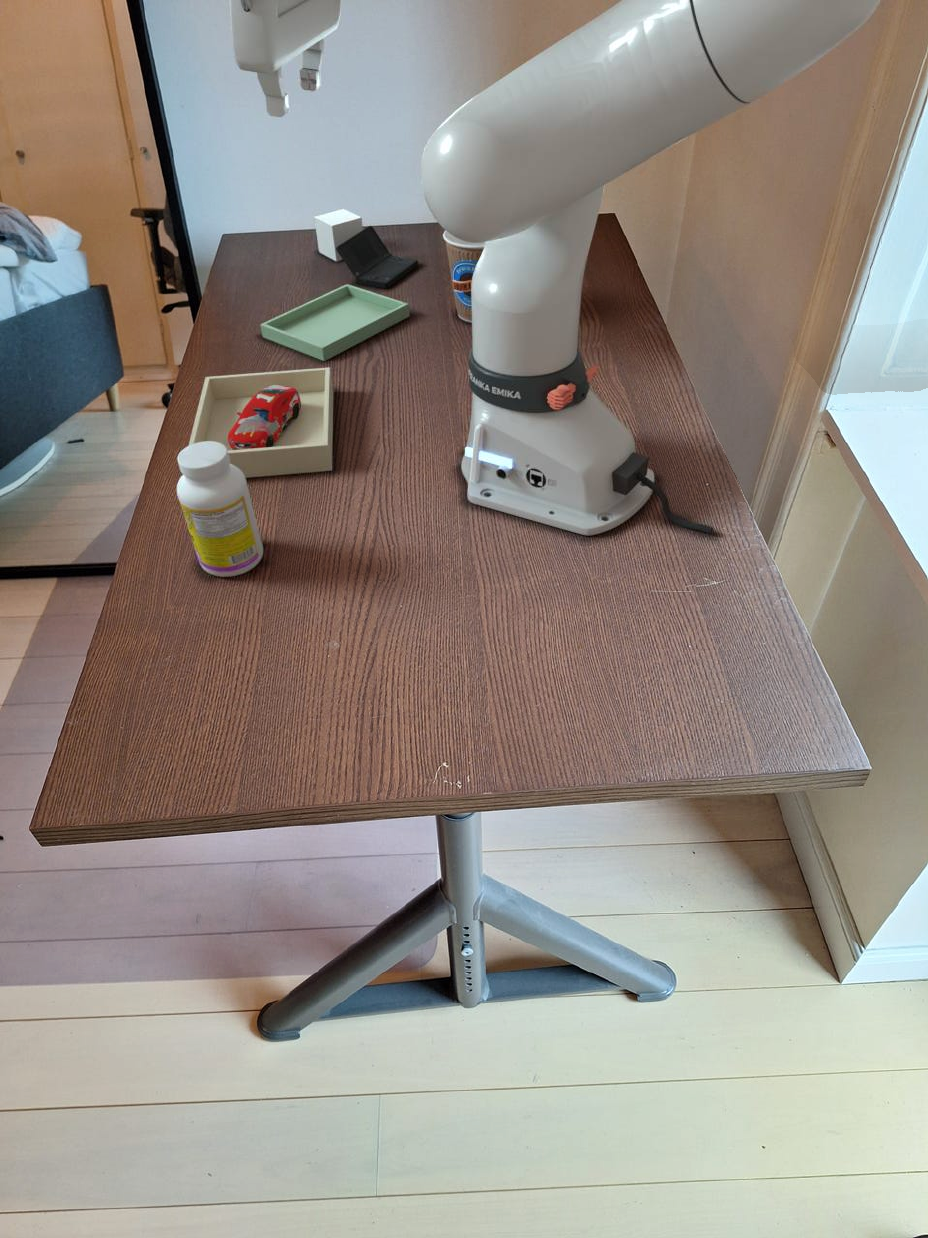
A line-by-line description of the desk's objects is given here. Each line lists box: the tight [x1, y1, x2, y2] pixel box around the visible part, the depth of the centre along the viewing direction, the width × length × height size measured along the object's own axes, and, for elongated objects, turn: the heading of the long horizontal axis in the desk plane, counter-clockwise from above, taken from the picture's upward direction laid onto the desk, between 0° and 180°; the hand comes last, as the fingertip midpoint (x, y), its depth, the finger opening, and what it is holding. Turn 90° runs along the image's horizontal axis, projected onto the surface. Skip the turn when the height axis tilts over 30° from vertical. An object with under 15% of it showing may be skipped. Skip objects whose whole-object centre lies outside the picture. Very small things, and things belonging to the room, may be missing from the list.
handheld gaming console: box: [336, 225, 419, 290], centre depth 142 cm, size 12×7×10 cm
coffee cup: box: [442, 229, 486, 324], centre depth 126 cm, size 10×10×12 cm
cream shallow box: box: [188, 367, 334, 478], centre depth 105 cm, size 19×16×4 cm
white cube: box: [313, 208, 364, 263], centre depth 149 cm, size 6×6×6 cm
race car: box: [228, 385, 301, 450], centre depth 105 cm, size 13×5×4 cm, turn 163°
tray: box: [260, 283, 410, 362], centre depth 128 cm, size 13×18×2 cm
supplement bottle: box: [176, 441, 264, 578], centre depth 84 cm, size 7×7×13 cm
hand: (295, 101), depth 87 cm, fingers open, 8 cm apart
